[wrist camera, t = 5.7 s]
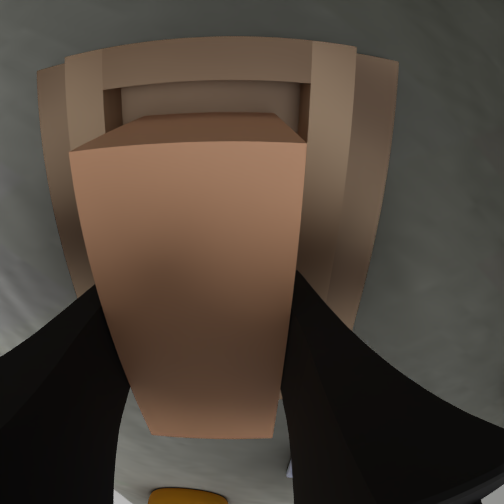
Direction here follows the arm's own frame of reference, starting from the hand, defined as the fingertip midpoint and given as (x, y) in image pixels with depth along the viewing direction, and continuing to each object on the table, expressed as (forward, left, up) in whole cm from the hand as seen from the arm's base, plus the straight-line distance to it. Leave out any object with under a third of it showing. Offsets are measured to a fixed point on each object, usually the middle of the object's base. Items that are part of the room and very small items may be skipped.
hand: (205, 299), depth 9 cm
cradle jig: (0, 0, -4) cm, 4 cm away
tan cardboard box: (0, 0, -3) cm, 3 cm away
